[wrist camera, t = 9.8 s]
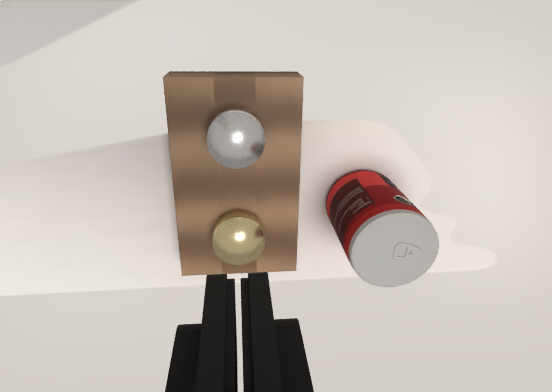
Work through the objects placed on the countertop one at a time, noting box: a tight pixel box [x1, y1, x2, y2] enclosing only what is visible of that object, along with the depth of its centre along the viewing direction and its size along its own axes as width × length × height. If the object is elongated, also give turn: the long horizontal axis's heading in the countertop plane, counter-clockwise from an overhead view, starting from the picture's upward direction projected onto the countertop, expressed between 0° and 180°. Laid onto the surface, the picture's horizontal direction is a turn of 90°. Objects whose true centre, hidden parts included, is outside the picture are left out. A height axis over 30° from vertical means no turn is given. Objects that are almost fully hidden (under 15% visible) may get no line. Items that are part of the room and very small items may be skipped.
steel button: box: [207, 107, 265, 169], centre depth 38 cm, size 5×5×6 cm
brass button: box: [212, 210, 265, 265], centre depth 42 cm, size 5×5×6 cm
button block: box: [163, 72, 304, 276], centre depth 41 cm, size 20×12×4 cm, turn 0°
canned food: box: [326, 171, 439, 287], centre depth 40 cm, size 8×8×11 cm
